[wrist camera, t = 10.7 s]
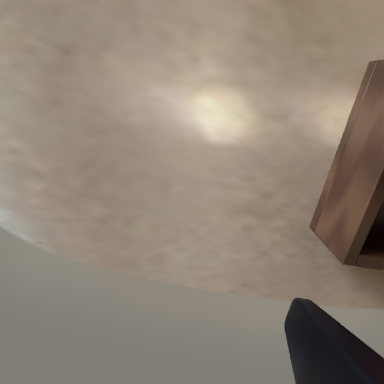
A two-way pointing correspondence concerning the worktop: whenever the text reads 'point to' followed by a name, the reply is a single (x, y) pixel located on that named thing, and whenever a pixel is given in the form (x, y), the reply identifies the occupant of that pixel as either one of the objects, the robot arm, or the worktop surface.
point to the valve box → (357, 182)
